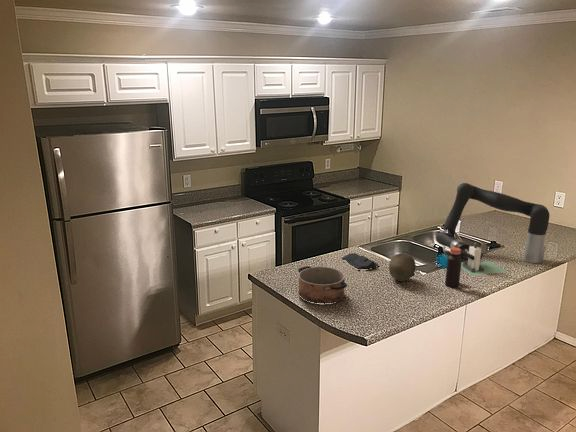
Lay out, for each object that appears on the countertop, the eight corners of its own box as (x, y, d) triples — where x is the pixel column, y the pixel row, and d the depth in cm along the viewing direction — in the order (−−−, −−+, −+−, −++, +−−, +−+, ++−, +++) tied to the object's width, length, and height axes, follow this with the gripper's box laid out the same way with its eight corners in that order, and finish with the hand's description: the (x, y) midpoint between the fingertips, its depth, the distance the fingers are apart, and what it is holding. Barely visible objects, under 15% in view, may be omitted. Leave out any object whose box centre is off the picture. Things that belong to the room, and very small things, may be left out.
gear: (439, 269, 252) (436, 252, 257) (434, 273, 257) (430, 256, 262) (457, 270, 254) (453, 253, 259) (451, 274, 259) (448, 258, 264)
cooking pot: (359, 300, 219) (360, 279, 216) (324, 313, 206) (325, 291, 204) (318, 280, 242) (318, 261, 239) (285, 291, 229) (285, 271, 227)
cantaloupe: (382, 277, 245) (383, 251, 240) (404, 274, 249) (406, 248, 245) (397, 288, 232) (399, 260, 228) (420, 284, 237) (422, 257, 233)
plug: (473, 266, 256) (476, 240, 252) (480, 270, 250) (483, 244, 246) (467, 266, 255) (470, 241, 251) (473, 270, 249) (476, 245, 245)
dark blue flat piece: (357, 256, 278) (357, 248, 276) (381, 267, 259) (381, 260, 258) (336, 260, 270) (337, 253, 269) (360, 273, 252) (360, 265, 251)
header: (472, 264, 260) (472, 260, 259) (484, 271, 250) (484, 267, 249) (460, 265, 258) (460, 261, 258) (471, 272, 248) (472, 268, 248)
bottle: (457, 289, 230) (461, 252, 225) (443, 286, 234) (447, 249, 228) (460, 284, 236) (464, 248, 230) (446, 281, 239) (450, 245, 234)
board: (489, 263, 264) (489, 261, 264) (507, 273, 249) (508, 271, 249) (455, 266, 260) (455, 264, 259) (471, 277, 245) (472, 275, 244)
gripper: (449, 242, 262) (466, 252, 246) (471, 240, 265) (490, 250, 249) (448, 254, 264) (465, 265, 248) (470, 252, 267) (488, 263, 251)
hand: (477, 258), depth 248 cm, fingers closed on plug, 4 cm apart
